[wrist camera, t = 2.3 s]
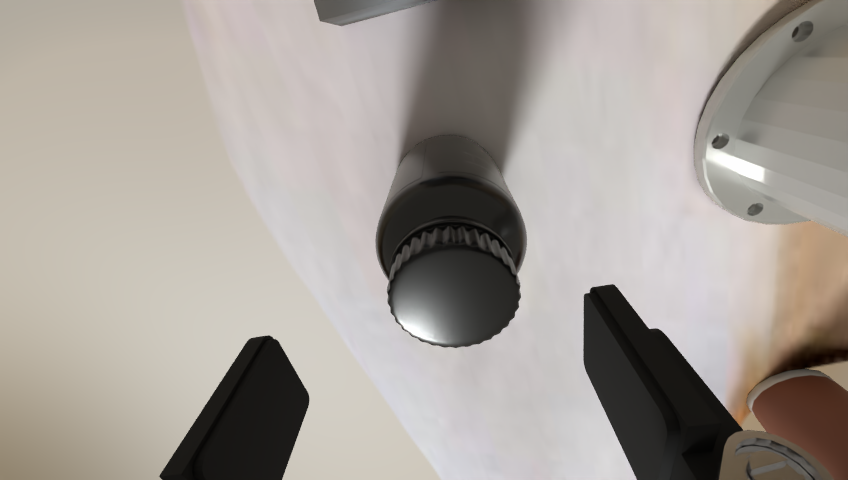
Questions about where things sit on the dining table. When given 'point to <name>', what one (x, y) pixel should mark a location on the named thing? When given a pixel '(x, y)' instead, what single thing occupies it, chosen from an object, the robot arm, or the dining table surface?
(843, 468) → the coffee cup
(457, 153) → the supplement bottle
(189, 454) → the robot arm
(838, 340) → the dining table surface
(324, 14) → the grey square block
